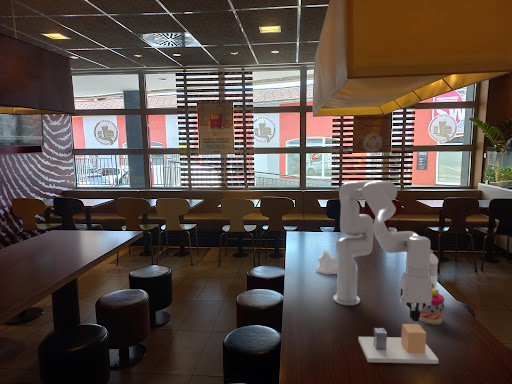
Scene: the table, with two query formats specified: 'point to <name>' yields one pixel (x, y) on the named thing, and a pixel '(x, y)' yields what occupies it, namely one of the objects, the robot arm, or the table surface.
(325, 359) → the table surface
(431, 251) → the water bottle
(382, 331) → the post
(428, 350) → the board
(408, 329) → the block
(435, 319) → the cake
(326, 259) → the soft serve ice cream
